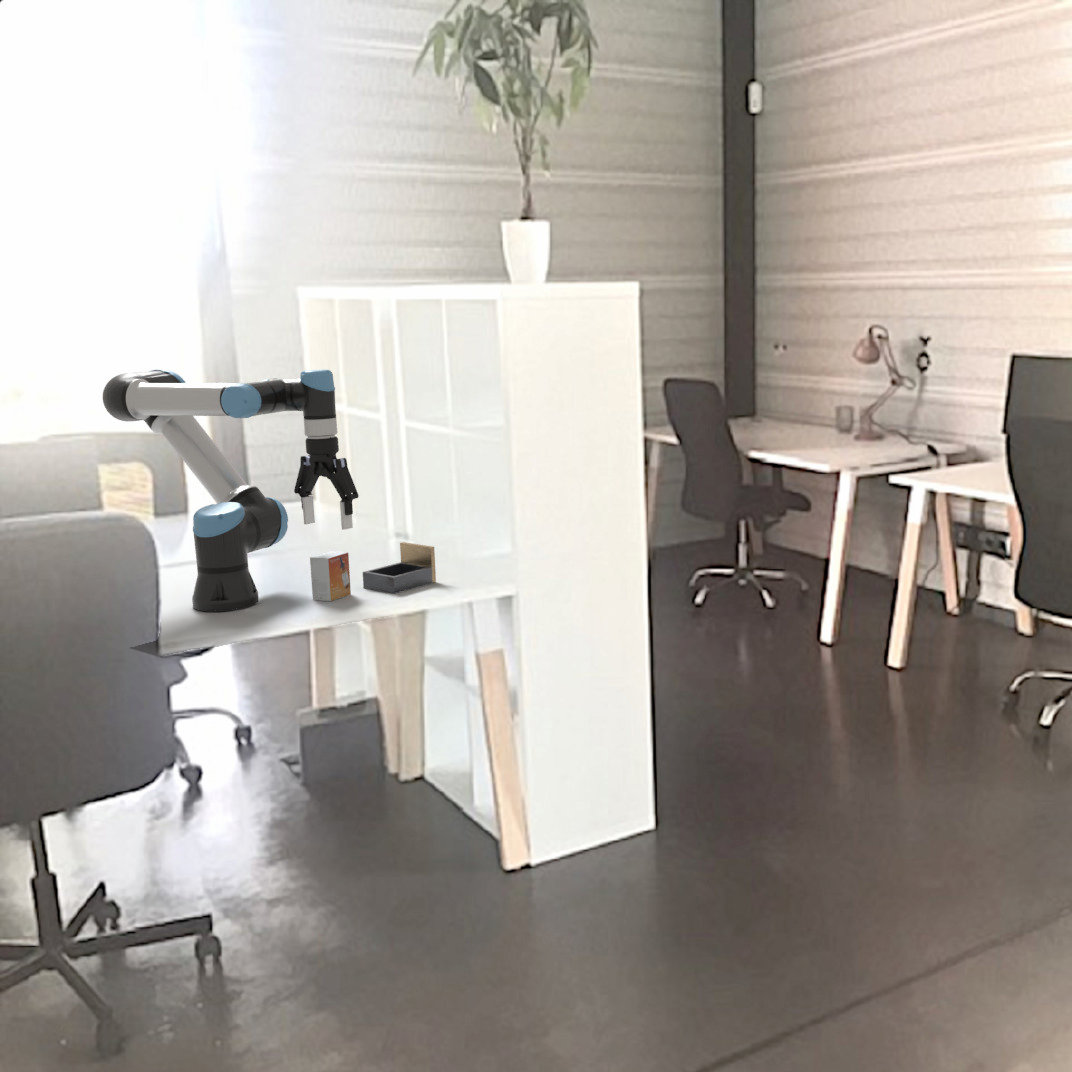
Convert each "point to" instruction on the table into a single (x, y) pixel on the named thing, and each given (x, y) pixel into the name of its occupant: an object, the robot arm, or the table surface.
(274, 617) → the table surface
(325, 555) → the small box
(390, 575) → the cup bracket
